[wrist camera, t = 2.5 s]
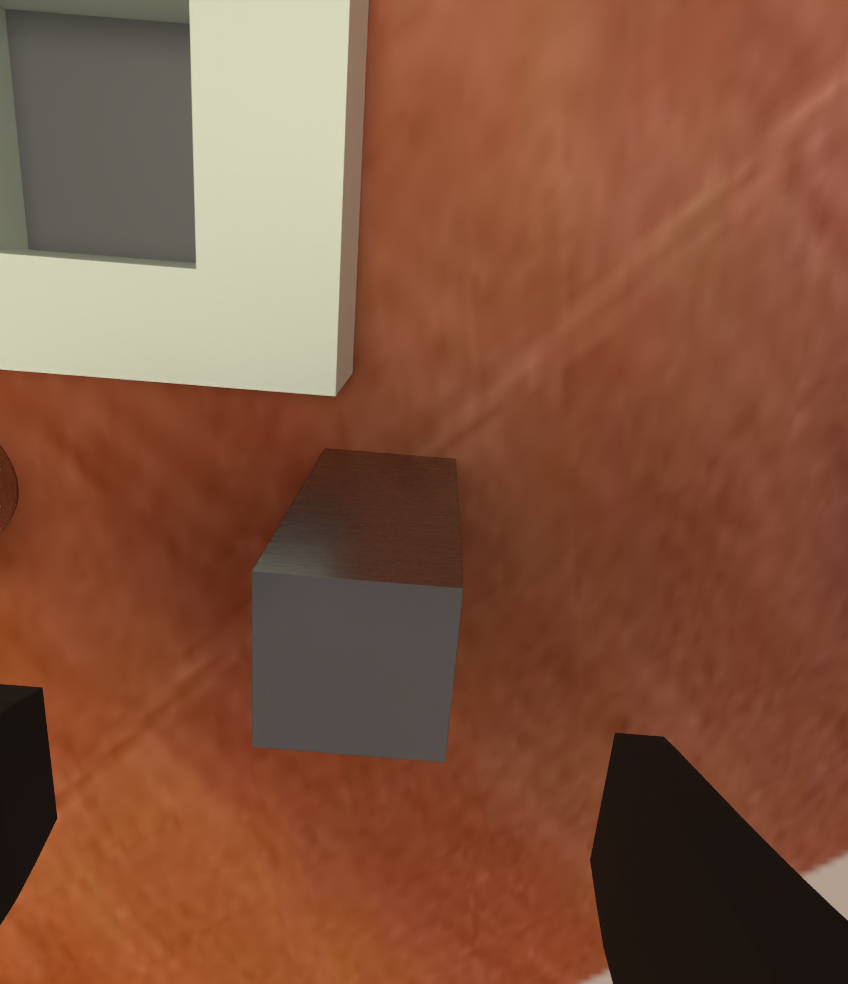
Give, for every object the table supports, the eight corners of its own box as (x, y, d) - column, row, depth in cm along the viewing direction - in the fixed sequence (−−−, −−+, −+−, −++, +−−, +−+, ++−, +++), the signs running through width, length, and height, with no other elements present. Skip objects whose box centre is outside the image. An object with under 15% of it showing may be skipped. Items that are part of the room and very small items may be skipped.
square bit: (455, 459, 17) (463, 588, 11) (444, 577, 18) (445, 762, 12) (324, 448, 17) (252, 571, 11) (321, 567, 18) (252, 746, 12)
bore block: (372, -90, 14) (356, -171, 11) (352, 372, 17) (335, 396, 14) (-141, -131, 14) (-280, -222, 11) (-72, 339, 17) (-169, 355, 14)
